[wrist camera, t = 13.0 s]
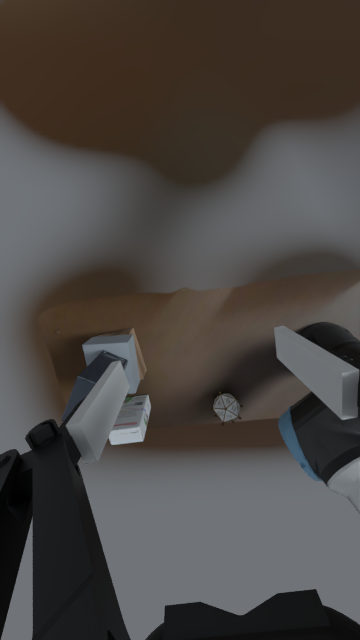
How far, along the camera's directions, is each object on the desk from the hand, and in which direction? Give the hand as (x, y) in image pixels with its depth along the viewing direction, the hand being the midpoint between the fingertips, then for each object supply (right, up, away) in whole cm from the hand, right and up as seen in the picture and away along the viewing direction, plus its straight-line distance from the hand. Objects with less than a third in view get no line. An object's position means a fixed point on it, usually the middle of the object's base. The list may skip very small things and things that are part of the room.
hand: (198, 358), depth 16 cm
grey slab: (-17, -7, +31) cm, 36 cm away
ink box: (-15, -22, +41) cm, 48 cm away
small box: (-18, -9, +27) cm, 34 cm away
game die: (+11, -20, +40) cm, 46 cm away
